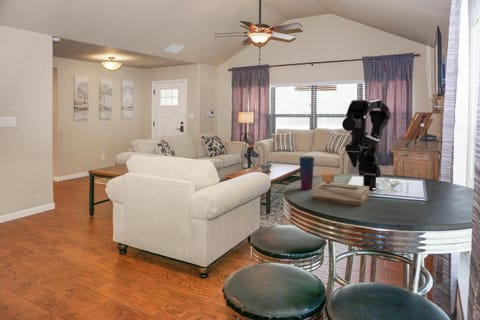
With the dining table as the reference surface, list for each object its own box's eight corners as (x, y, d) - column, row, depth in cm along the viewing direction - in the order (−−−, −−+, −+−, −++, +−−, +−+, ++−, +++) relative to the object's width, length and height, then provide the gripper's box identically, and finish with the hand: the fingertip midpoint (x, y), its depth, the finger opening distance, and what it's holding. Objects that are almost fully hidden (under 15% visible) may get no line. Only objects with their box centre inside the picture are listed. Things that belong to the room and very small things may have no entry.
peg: (325, 192, 158) (325, 173, 157) (333, 193, 156) (334, 173, 155) (321, 194, 155) (322, 174, 154) (330, 195, 153) (331, 175, 151)
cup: (313, 190, 168) (314, 158, 166) (299, 189, 170) (299, 158, 168) (313, 187, 175) (314, 156, 173) (299, 186, 176) (299, 156, 174)
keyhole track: (323, 192, 163) (323, 181, 163) (369, 198, 153) (369, 186, 152) (312, 199, 153) (312, 187, 152) (361, 205, 142) (361, 193, 141)
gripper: (373, 131, 142) (371, 170, 145) (383, 128, 158) (381, 163, 160) (345, 131, 148) (344, 168, 151) (357, 128, 164) (356, 162, 166)
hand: (357, 165), depth 157 cm, fingers open, 9 cm apart
